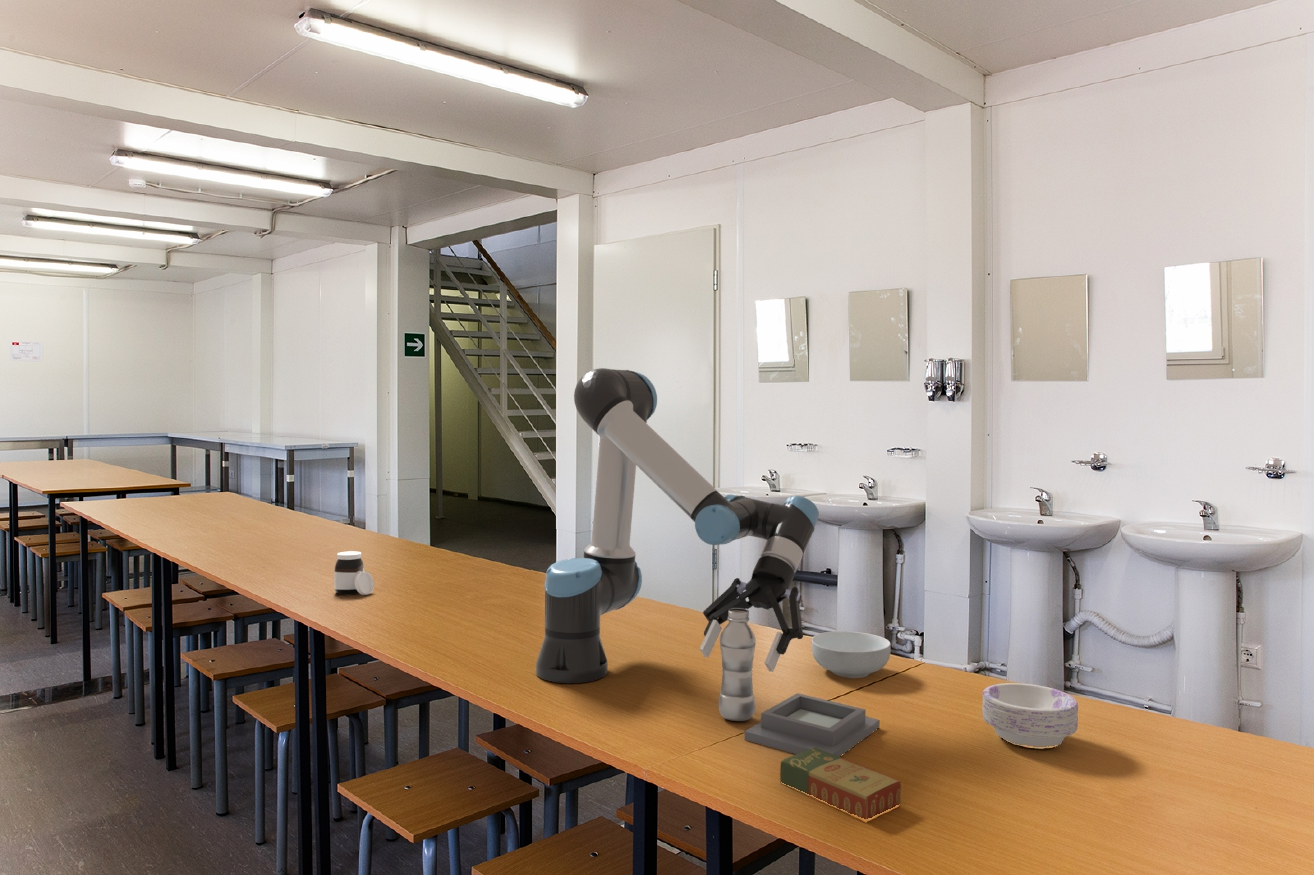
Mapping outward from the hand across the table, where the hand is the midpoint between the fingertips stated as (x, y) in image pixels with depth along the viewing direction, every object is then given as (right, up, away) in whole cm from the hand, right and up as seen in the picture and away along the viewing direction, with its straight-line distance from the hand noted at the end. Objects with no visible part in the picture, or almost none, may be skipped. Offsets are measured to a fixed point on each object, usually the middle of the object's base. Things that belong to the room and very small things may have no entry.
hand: (735, 660), depth 155 cm
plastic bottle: (0, -11, +2) cm, 11 cm away
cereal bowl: (+28, -11, +31) cm, 43 cm away
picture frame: (+13, -12, -5) cm, 18 cm away
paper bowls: (+50, -13, -6) cm, 52 cm away
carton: (+13, -13, -28) cm, 33 cm away
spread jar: (-104, -6, +99) cm, 144 cm away
